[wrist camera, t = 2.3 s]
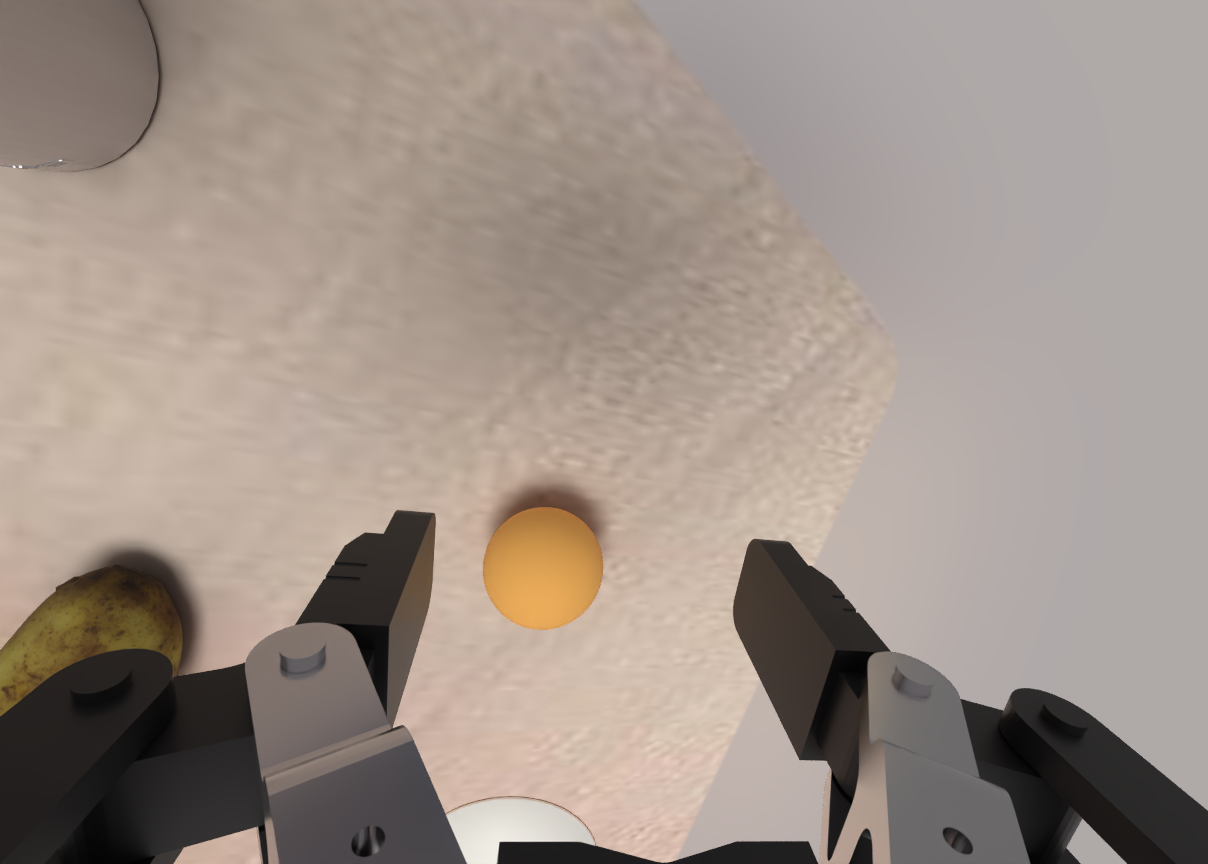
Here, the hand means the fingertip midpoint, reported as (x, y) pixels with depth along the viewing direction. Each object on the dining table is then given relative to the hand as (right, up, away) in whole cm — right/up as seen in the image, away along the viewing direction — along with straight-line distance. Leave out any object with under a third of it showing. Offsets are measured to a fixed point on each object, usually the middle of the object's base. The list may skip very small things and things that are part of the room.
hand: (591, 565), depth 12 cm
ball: (-3, -4, +17) cm, 17 cm away
